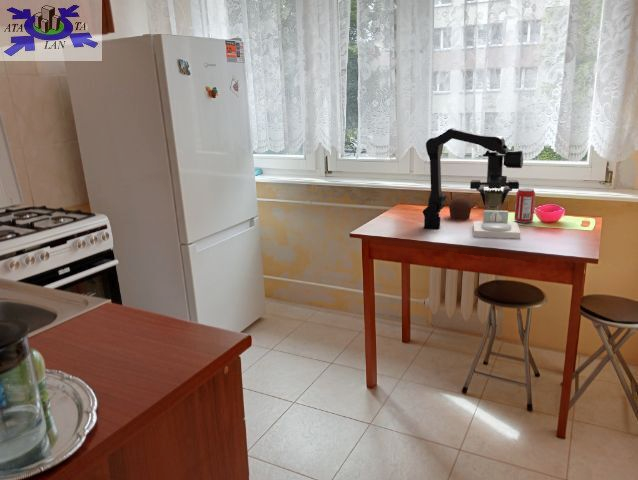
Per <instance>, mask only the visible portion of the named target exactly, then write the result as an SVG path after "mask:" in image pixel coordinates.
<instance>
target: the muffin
mask: <svg viewBox="0 0 638 480" xmlns="http://www.w3.org/2000/svg"><path fill="white" fill-rule="evenodd" d="M447 206H448V209H449V217H450V219H452V220H453V219H454V220H455V221H467V220H470V216H471V211H472V208H473V206H474V204H473V202H471V200H470V199H469V198H467V197H465V196H456V197H453V198H452V199H451V200H450V201H449V202H448V203H447ZM466 219H467V220H466ZM454 220H453V221H454Z"/></svg>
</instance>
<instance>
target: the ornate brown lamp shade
mask: <svg viewBox="0 0 638 480" xmlns="http://www.w3.org/2000/svg"><path fill="white" fill-rule="evenodd" d="M484 195H485V203H486V205H488V206H489V207H488V209H489V210H497V209H498V207H497V206H499V205H500V204H501V201H502V197H503V190H501V189H496V190H495V189H488V190H487V189H484Z"/></svg>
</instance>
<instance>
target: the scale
mask: <svg viewBox="0 0 638 480" xmlns="http://www.w3.org/2000/svg"><path fill="white" fill-rule="evenodd" d="M482 216H483V217H482V221H478V220H477V221H476V220H475V221H473V222H472V224H473V226H472V227H473V237H476V238H477V237H478V238H479V237H480V238H496V239H497V238H501V239H504V238H505V239H521V230H520V228H519V225H518V222H509V221H508V220H509V211H508V210H501V211H495V210H484V209H483V215H482Z"/></svg>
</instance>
